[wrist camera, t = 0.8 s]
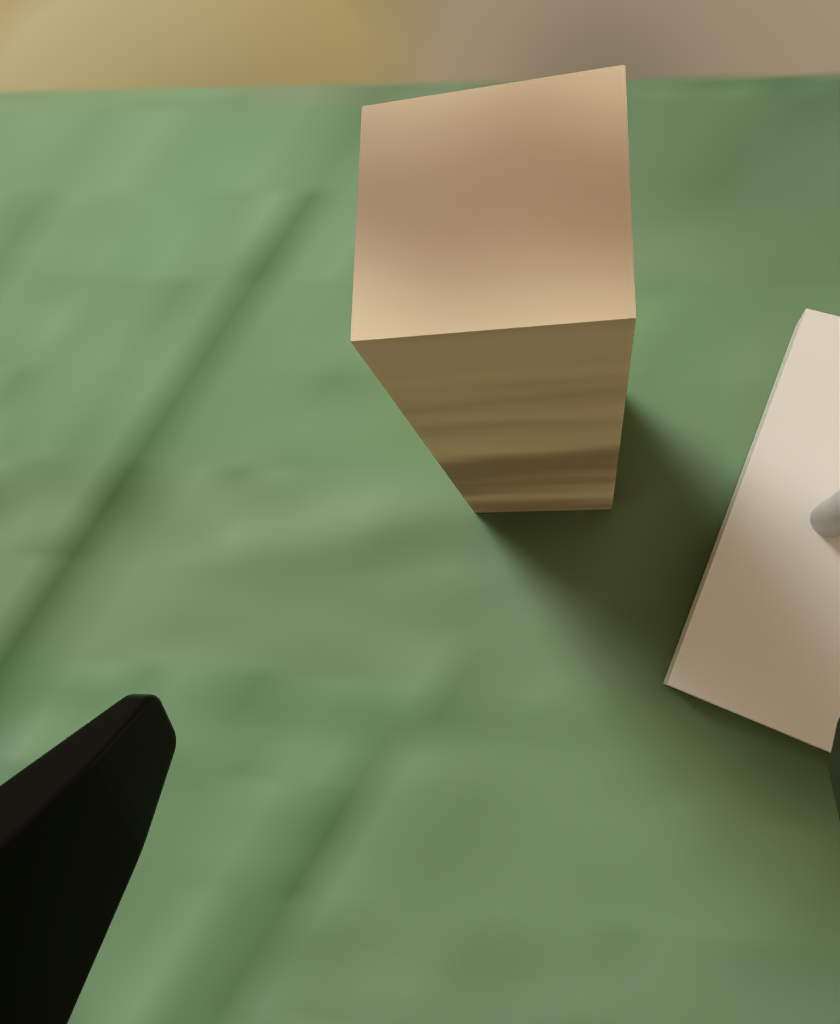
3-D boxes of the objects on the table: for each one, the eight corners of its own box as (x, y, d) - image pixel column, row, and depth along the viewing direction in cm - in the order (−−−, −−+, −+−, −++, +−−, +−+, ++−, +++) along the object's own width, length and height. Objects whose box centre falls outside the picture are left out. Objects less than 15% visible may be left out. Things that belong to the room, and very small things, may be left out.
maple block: (612, 509, 23) (635, 317, 11) (474, 512, 24) (350, 340, 12) (607, 379, 24) (625, 64, 12) (475, 388, 25) (362, 106, 13)
